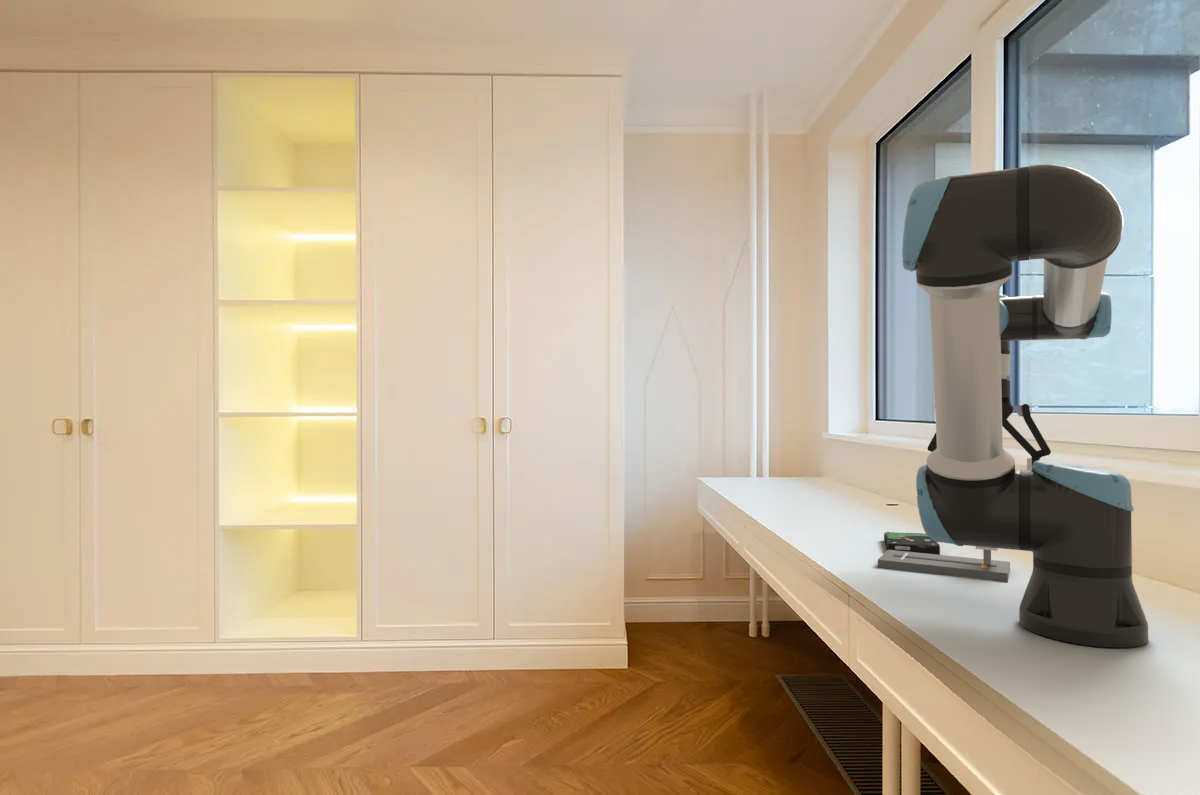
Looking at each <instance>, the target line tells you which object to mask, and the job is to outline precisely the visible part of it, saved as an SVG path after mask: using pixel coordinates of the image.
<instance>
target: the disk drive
mask: <svg viewBox="0 0 1200 795" xmlns="http://www.w3.org/2000/svg"><path fill="white" fill-rule="evenodd" d="M883 541H884V542H885V543H884V544H885V548H886V551H887V550H896V551H906V552H916V553H926V554H937V555H941V545H940V544H939V542H937V541H934V540H932V539H931V538H930V537H929V536H928V535H927V534H926V533H922V532H921V533H919V532H918V533H917V532H914V533H913V532H892V531H891V532H889V531H886V532H884V533H883Z"/></svg>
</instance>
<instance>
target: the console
mask: <svg viewBox="0 0 1200 795" xmlns="http://www.w3.org/2000/svg"><path fill="white" fill-rule="evenodd" d="M877 568H881V569H889V570H898V571H907V572H908V571H909V572H915V573H916V572H918V573H926V574H935V575H944V576H952V577H953V576H954V577H961V578H962V577H963V578H969V579H971V578H972V579H981V580H988V581H996V582H1006V583H1008V581H1009V579H1010V578H1009V576H1010V572H1011V561H1007V560H1006V561H1004V560H996V559H991V565H990V564H983V558H975V557H967V556H966V557H965V556H955V555H945V554H944V555H943V554H940V555H937V554H926V553H916V552H906V551H896V550H887V549H886V551H885V552H884V553H883V554H882V555H881V556H880V557H879V558H878V559H877Z"/></svg>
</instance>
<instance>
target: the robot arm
mask: <svg viewBox="0 0 1200 795" xmlns="http://www.w3.org/2000/svg"><path fill="white" fill-rule="evenodd" d="M903 227H904V228H903V234H902V236H903V238H902V247H901V248H902V252H901V253H902V254H901V255H902V256H901V257H902V266H903V268H904V270H906V271H909V272H914V271H915V273H916V274H915V275H916V276H915V277H916V285H917V286H918V287H920V288H921V289H923V291H925V292H927V294H928V296H929V307H930V309H929V310H930V311H929V312H930V331H931V352H932V355H931V356H932V369H933V370H932V371H933V372H932V373H933V391H934V392H933V394H934V395H933V396H934V412H935V413H934V414H935V433H934V435H933V437H932V438H931V440H930V442H929V443H928V446H927V451H928V452H931V453H929V455H928V456H927V457H926V464H924V465H921V466H920V467H919V468H918V469H917V474H916V477H915V478H916V480H915V481H916V483H915V488H916V493H917V496H916V501H917V508H918V513H919V518H920V522H921V525H922V528H923V530H924V532H925V534H927V535H928V536H929V537H930V538H931V539H932V540H934V541H937V542H938V543H944V544H949V545H951V544H952V545H955V546H958V547H963V546H968V547H976V546H979V547H990V548H998V549H1002V550H1012V551H1013V550H1014V551H1026V552H1032V555H1033V556H1032V573H1031V575H1030V578H1029V580H1028V583H1027V586H1026V589H1025V591H1024V593H1023V596H1022V599H1021V601H1020V603H1019V608H1018V614H1019V615H1018V621H1019V622H1018V623H1019V624H1020V626H1022V627H1023V628H1025V629H1026V630H1028V631H1030V632H1032V633H1034V634H1037V635H1040V636H1044V637H1045V638H1050V639H1053V640H1057V641H1061V642H1066V643H1071V644H1075V645H1076V644H1078V645H1083V646H1090V647H1091V646H1092V647H1102V648H1135V647H1139V646H1143V645H1145V644H1147V643H1148V642H1149V624H1148V621H1147V618H1146V615H1145V612H1144V609H1143V607H1142V605H1141V602H1140V600H1139V596H1138V594H1137V591H1136V589H1135V586H1134V583H1133V550H1132V548H1133V547H1132V546H1133V542H1132V541H1133V540H1132V539H1133V538H1132V533H1133V532H1132V531H1133V530H1132V512H1134V510H1135V509H1134V505H1133V502H1132V501H1133V500H1132V488H1131V487H1132V486H1131V483H1130V480H1129V479H1128V478H1127V477H1126V476H1125V475H1123V474H1121V473H1120V472H1117V471H1113V470H1108V469H1105V468H1099V467H1093V466H1088V465H1082V464H1075V463H1069V462H1061V461H1050V460H1041V458H1043V457H1046V456H1049V455H1050V454H1051V452H1052V451H1051V449H1050V447H1049V445H1048V443H1047V442H1046V439H1045V438H1044V437H1043V435H1042V433H1041V431H1040V429H1039V428H1038V426H1037V425H1036V423H1035V421H1034V419H1033V418H1032V416H1031V409H1030V405H1029V404H1028V403H1023V404H1019V405H1012V403H1011V380H1010V379H1008V377H1010V375H1011V351H1010V347H1011V346H1010V344H1011V342H1015V341H1016V342H1017V341H1018V342H1020V341H1045V340H1046V341H1047V340H1049V341H1051V340H1053V341H1054V340H1087V339H1092V338H1104V337H1107V336H1108V335H1109V334H1110V332H1111V327H1112V314H1113V313H1112V309H1113V308H1112V298H1111V296H1110V294H1109V293H1108V292H1104V291H1102V288H1103V286H1104V280H1105V274H1106V267H1107V263H1108V258H1110V257H1111V256H1112V255H1113V254H1114V253H1115V251H1116V250H1117V249H1118V247H1119V245H1120V242H1121V239H1122V237H1123V231H1124V215H1123V212H1122V208H1121V206H1120V204H1119V202H1118V200H1117V198H1116V196H1114V194H1113V193H1112V192H1111V191H1110V190H1109V189H1108V188H1107V186H1105V185H1104V184H1103V183H1102V182H1100V181H1099V180H1098V179H1096V178H1095V177H1093V176H1091V175H1089V174H1087V173H1085V172H1084V171H1081V170H1078V169H1076V168H1073V167H1070V166H1065V165H1059V164H1050V163H1049V164H1047V163H1042V164H1034V165H1029V166H1022V167H1016V168H1007V169H999V170H992V171H984V172H982V171H981V172H976V173H974V172H973V173H967V174H961V175H948V176H946V177H942V178H941V177H940V178H937V179H932V180H931V179H930V180H928V181H923V182H922V183H919V184H918V185H916V186H915V187H914V188H913V190H912V191H911V193H910V195H909V199H908V202H907V207H906V211H905V218H904V226H903ZM1030 260H1043V287H1042V288H1043V293H1042V294H1043V295H1041V294H1040V295H1030V296H1014V297H1013V296H1011V297H1009V296H1008V295H1006V294H1002V293H1000V292H1001V291H1000V290H1001V287H1002V286H1004V284H1005V283H1007V281H1009V279H1010V278H1011V277H1012V276H1013V262H1022V261H1030ZM1013 412H1015V413H1017V415H1018V416H1019V417H1022V419H1023V420H1024V422H1025V424H1026V426H1027V427H1028V429H1029V431H1030V433H1031V434H1032V436H1033V438H1034V439H1035V441H1036V443H1037V445H1038V447H1039V448H1040V449H1039V450H1038V449H1037V450H1036V448H1035V447H1034V446H1033V445H1032V444H1031V443H1030V442H1029V441H1028V440H1027V439H1026V438H1025V437H1024V436H1023V435H1022V434H1021V433H1020V431H1018V430H1017V429H1016V427H1014V425H1013V424H1012V423H1011V422H1010V421H1009V420H1008V418H1010V416H1011V415H1012V414H1013ZM1003 428H1004V429H1005V430H1006V431H1007V433H1009V435H1011V436H1012V438H1013V439H1014V440H1015V441H1016V442H1017V443H1018V444H1019V445H1020V446H1021V447H1022V448H1023V449H1024V450H1025V451H1026V452H1027V454H1029V456H1030V457H1027V458H1026V469H1016V462H1015V458H1014V456H1013V455H1012V454H1011V453H1010V452H1009V451H1007V450H1006V449H1004V447H1003V445H1004V444H1003V443H1004V442H1003Z"/></svg>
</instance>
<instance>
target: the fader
mask: <svg viewBox="0 0 1200 795" xmlns="http://www.w3.org/2000/svg"><path fill="white" fill-rule="evenodd" d="M975 549H976V550H982V552H983V558H982V559H983V564H990V565H991V560H992V551H995V552H997V551H998V549H999V548H990V547H979V546H975Z"/></svg>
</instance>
